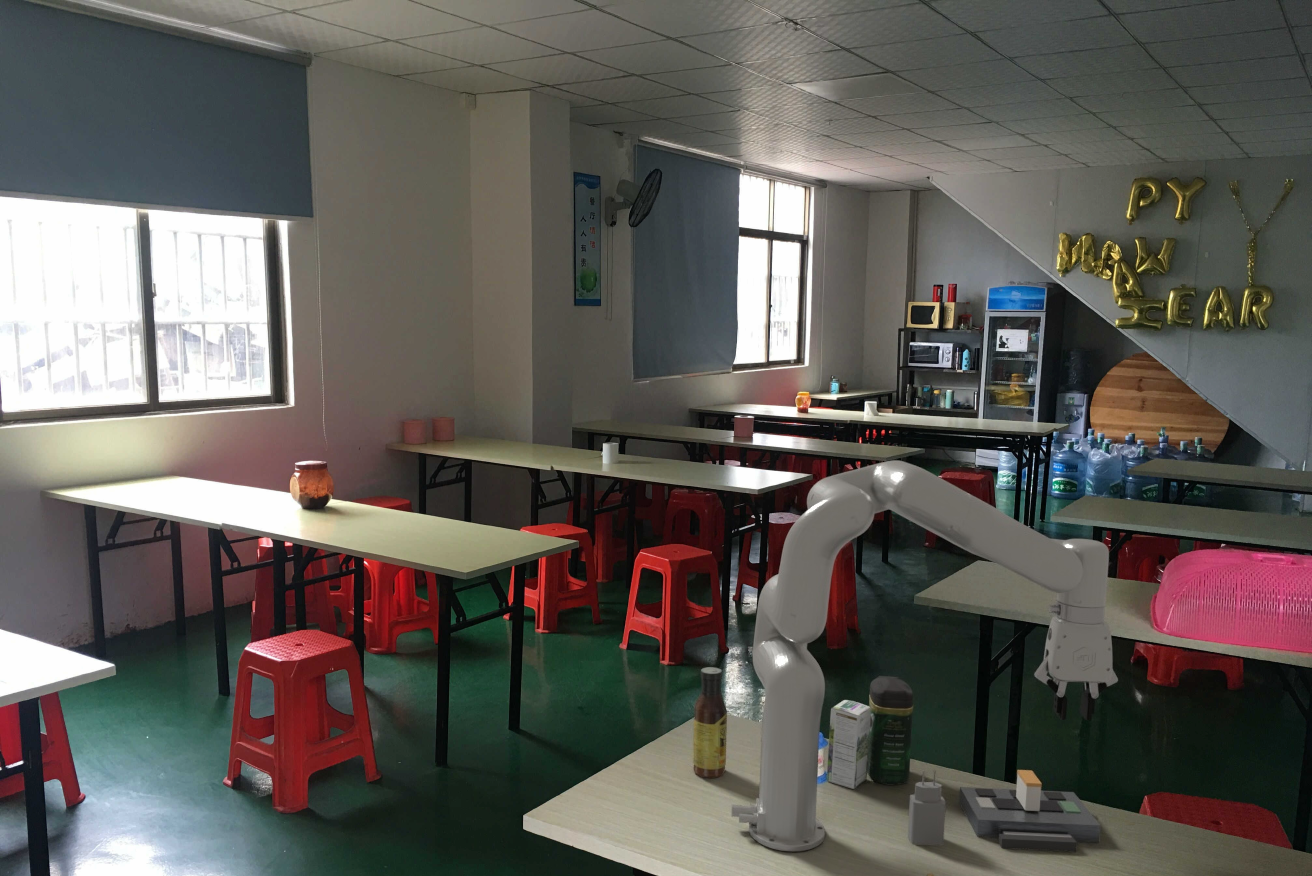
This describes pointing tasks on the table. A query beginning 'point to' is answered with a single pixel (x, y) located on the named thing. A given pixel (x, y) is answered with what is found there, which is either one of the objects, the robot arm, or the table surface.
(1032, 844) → the dark grey bar
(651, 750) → the table surface
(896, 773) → the coffee jar
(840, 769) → the syrup box
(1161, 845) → the table surface
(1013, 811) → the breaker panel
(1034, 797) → the lever
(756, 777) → the table surface
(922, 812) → the power adapter
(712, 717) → the sauce bottle
